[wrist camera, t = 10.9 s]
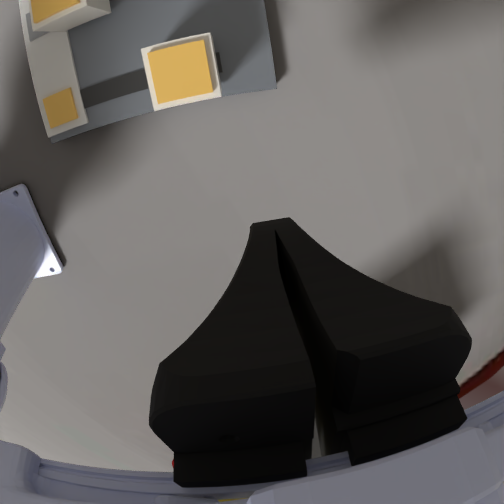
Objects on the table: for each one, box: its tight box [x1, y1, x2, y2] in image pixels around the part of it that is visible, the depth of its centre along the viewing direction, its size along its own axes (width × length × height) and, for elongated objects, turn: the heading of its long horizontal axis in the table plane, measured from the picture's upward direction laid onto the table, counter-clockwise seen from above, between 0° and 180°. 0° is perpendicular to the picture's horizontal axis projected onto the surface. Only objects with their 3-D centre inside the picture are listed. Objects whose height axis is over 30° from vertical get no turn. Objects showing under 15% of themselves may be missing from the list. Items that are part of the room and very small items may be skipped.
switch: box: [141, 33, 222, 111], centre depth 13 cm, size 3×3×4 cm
